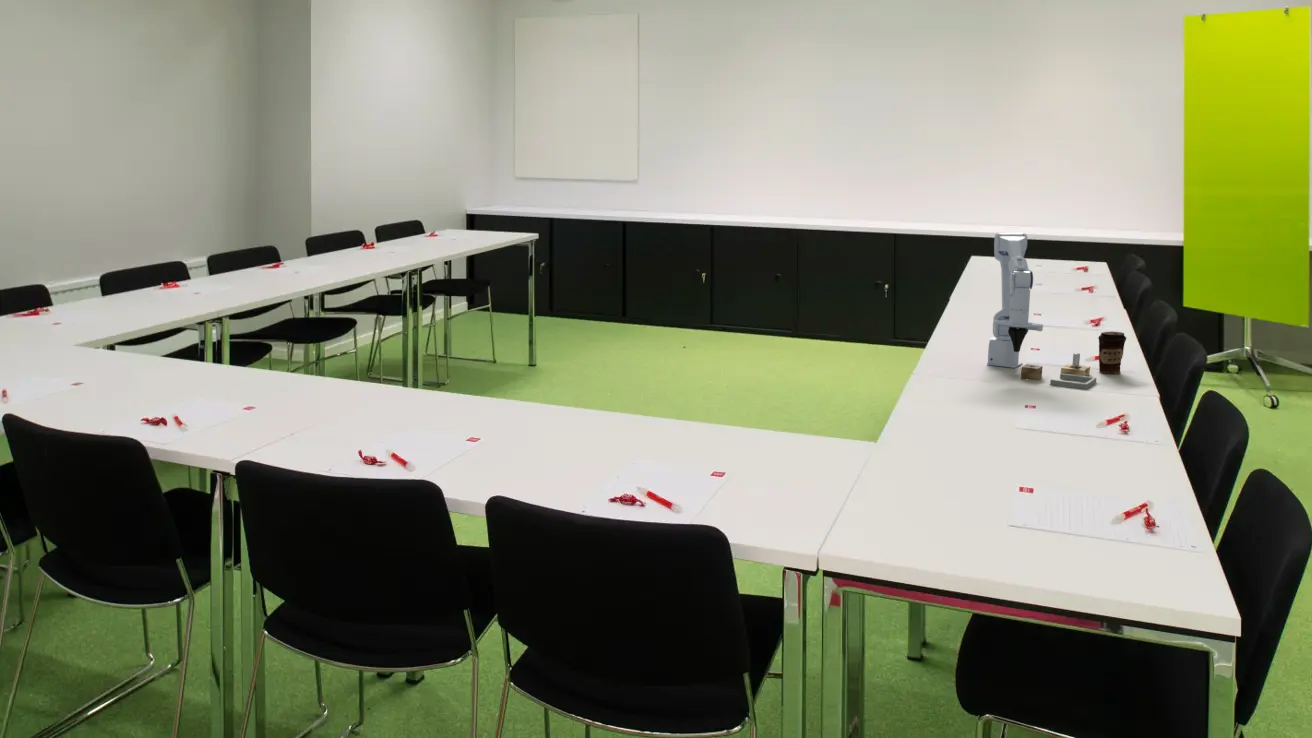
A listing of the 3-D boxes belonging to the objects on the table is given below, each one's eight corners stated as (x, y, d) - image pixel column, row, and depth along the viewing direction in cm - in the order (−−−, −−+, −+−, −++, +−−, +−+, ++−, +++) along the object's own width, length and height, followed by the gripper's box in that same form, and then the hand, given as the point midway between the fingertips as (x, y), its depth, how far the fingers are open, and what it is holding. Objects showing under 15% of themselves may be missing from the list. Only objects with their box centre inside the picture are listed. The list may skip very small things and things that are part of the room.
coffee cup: (1126, 375, 346) (1129, 335, 344) (1098, 375, 348) (1101, 335, 345) (1120, 370, 355) (1123, 330, 352) (1093, 369, 356) (1096, 330, 354)
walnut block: (1020, 379, 344) (1021, 366, 343) (1025, 376, 348) (1026, 363, 347) (1036, 381, 341) (1037, 368, 340) (1041, 378, 345) (1042, 365, 344)
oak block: (1060, 375, 348) (1061, 367, 347) (1067, 371, 353) (1067, 363, 352) (1083, 378, 343) (1083, 370, 343) (1089, 374, 349) (1090, 366, 348)
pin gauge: (1071, 375, 348) (1072, 353, 346) (1072, 374, 350) (1074, 352, 348) (1077, 376, 347) (1079, 354, 345) (1079, 374, 348) (1080, 353, 347)
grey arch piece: (1050, 384, 336) (1050, 379, 336) (1060, 378, 344) (1061, 373, 344) (1086, 389, 330) (1086, 384, 329) (1096, 382, 338) (1096, 377, 338)
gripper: (992, 308, 344) (990, 351, 347) (1039, 312, 336) (1036, 355, 339) (999, 305, 350) (996, 347, 353) (1045, 309, 342) (1042, 352, 345)
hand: (1016, 351), depth 346 cm, fingers closed
